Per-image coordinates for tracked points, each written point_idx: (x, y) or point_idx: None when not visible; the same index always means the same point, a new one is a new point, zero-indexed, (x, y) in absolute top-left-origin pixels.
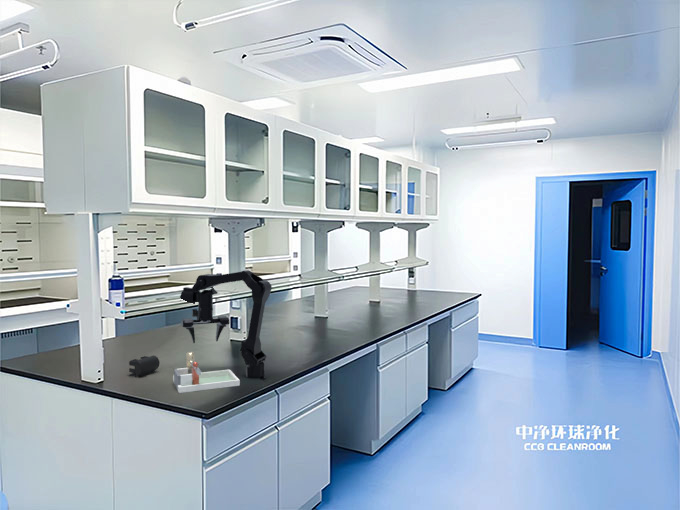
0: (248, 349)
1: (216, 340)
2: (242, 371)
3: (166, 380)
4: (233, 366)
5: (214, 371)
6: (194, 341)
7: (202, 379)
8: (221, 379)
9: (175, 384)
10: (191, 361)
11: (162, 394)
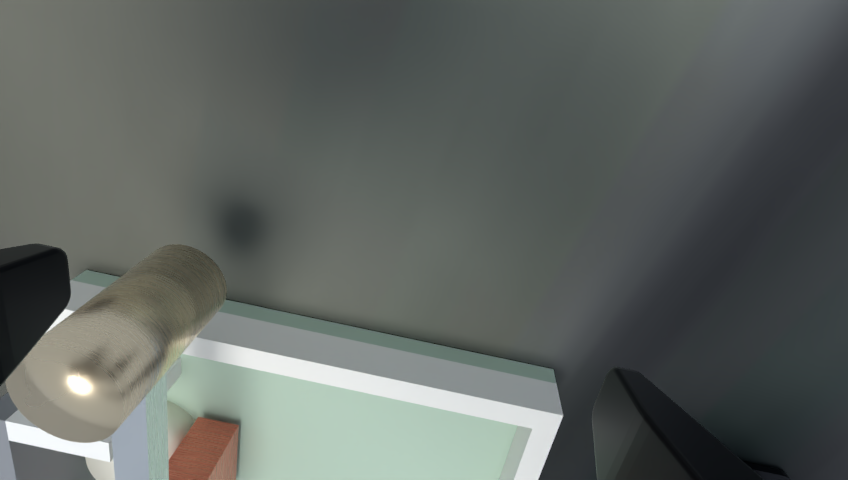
0: None
1: (593, 436)
2: (750, 296)
3: (35, 159)
4: (824, 59)
5: (409, 394)
6: (29, 340)
7: (299, 380)
8: (429, 455)
9: None
10: (121, 455)
11: None
